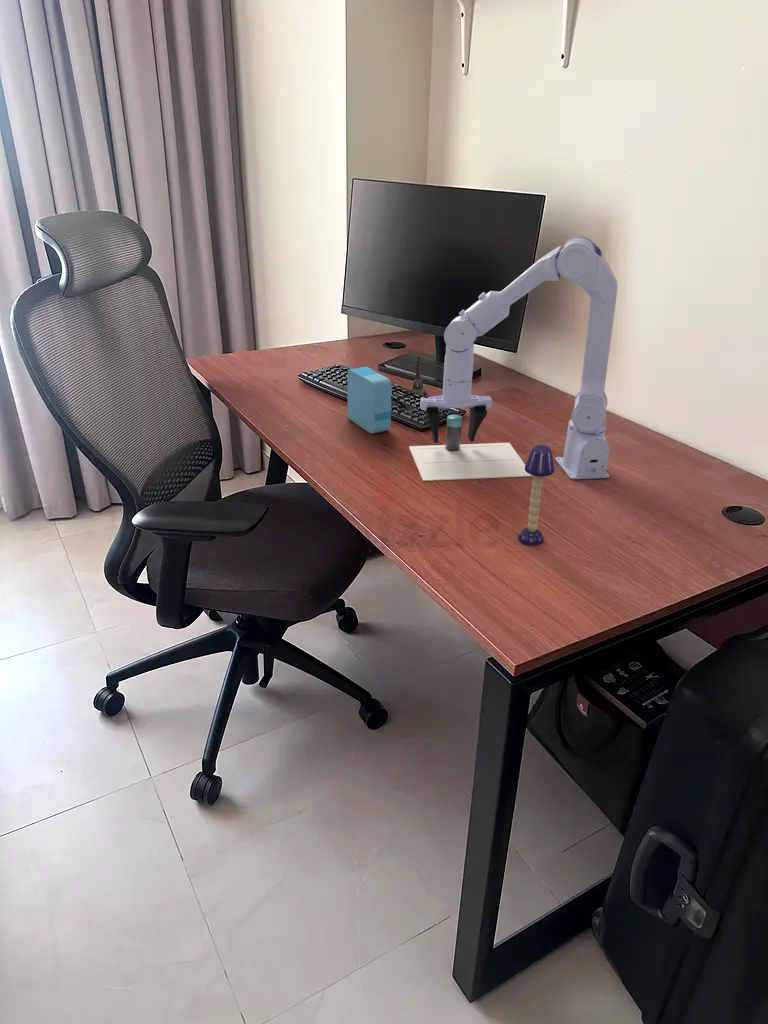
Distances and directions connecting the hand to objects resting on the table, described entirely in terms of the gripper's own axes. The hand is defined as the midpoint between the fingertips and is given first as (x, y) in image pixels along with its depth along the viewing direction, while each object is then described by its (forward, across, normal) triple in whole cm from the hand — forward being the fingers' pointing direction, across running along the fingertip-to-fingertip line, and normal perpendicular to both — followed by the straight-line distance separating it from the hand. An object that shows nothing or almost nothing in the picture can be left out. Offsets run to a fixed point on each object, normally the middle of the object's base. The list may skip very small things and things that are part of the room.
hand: (453, 440), depth 154 cm
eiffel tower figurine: (+3, +3, -30) cm, 31 cm away
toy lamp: (+2, -5, +37) cm, 37 cm away
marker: (+2, 0, 0) cm, 2 cm away
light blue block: (+2, +16, -15) cm, 22 cm away
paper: (+2, -2, +6) cm, 7 cm away
